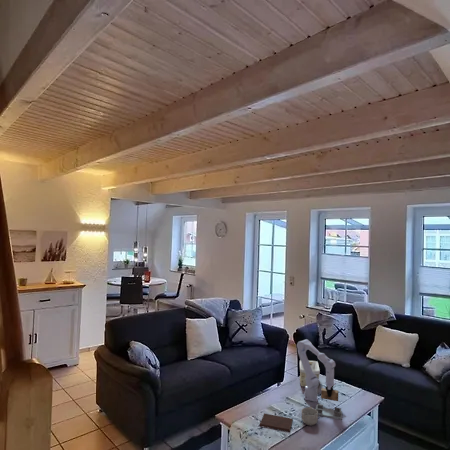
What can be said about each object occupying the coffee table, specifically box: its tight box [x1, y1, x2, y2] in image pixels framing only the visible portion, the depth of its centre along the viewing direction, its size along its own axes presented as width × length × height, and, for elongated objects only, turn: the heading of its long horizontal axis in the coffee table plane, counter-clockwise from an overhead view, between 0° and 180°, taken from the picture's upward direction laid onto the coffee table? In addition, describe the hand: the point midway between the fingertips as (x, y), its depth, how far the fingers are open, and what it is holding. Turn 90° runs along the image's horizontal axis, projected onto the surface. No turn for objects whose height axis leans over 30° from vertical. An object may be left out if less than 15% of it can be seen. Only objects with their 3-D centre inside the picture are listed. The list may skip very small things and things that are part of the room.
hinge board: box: [315, 403, 343, 420], centre depth 246 cm, size 18×10×4 cm, turn 70°
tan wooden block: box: [320, 387, 339, 402], centre depth 256 cm, size 12×4×6 cm, turn 70°
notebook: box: [259, 413, 294, 433], centre depth 232 cm, size 15×20×2 cm
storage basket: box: [299, 359, 321, 389], centre depth 297 cm, size 24×16×15 cm
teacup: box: [300, 406, 319, 426], centre depth 234 cm, size 14×11×8 cm
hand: (329, 395), depth 256 cm, fingers closed on tan wooden block, 4 cm apart
